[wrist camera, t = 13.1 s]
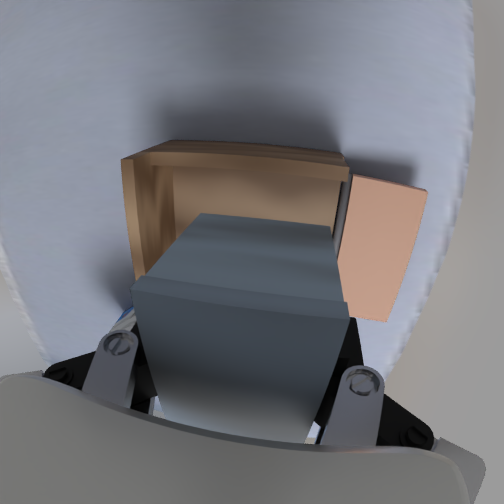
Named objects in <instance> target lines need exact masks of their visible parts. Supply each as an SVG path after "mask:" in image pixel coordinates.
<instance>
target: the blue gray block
mask: <svg viewBox="0 0 504 504" xmlns="http://www.w3.org/2000/svg"><path fill="white" fill-rule="evenodd" d="M130 293H131V298H132V303H133V307H134V311H135V316H136V320H137V324H138V328H139V332H140V336H141V340H142V344H143V348H144V351H145V355H146V359H147V362H148V366H149V369H150V372H151V376H152V379H153V382H154V385H155V389H156V392H157V395H158V398H159V401H160V404H161V407H162V410H163V412H164V415H165V418H166V420H169V421H173V422H177V423H181V424H185V425H189V426H193V427H197V428H202V429H206V430H211V431H216V432H221V433H226V434H232V435H238V436H244V437H250V438H257V439H264V440H272V441H281V442H291V443H303V444H304V442H305V440H306V438H307V435H308V433H309V431H310V429H311V426H312V424H313V422H314V419H315V417H316V414H317V412H318V409H319V407H320V404H321V402H322V399H323V397H324V394H325V392H326V389H327V386H328V384H329V381H330V378H331V375H332V373H333V370H334V367H335V364H336V361H337V359H338V356H339V353H340V350H341V347H342V344H343V341H344V337H345V334H346V331H347V328H348V325H349V321H350V316H349V310H348V304H347V302H344V298H343V291H342V286H341V280H340V274H339V269H338V263H337V258H336V253H335V248H334V243H333V238H332V233H331V228H330V226H324V225H316V224H307V223H298V222H289V221H280V220H271V219H261V218H251V217H240V216H230V215H219V214H207V213H200V214H199V215H198V216H197V217H196V218H195V220H194V221H193V222H192V223H191V224H190V225H189V226H188V227H187V228H186V229H185V230H184V232H183V233H182V234H181V235H180V236H179V237H178V238H177V239H176V240H175V242H174V243H173V244H172V245H171V246H170V247H169V248H168V249H167V251H166V252H165V253H164V254H163V255H162V256H161V257H160V259H159V260H158V261H157V262H156V263H155V264H154V265H153V267H152V268H151V269H150V270H149V271H148V272H147V274H146V275H145V276H144V275H141V276H140V277H139V278H138V280H137V281H136V282H135V283H134V284H133V285H132V287H131V288H130Z"/></svg>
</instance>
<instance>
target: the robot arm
mask: <svg viewBox="0 0 504 504" xmlns="http://www.w3.org/2000/svg"><path fill="white" fill-rule="evenodd" d="M384 388H385V386H384V380H383V378H382V376H381V375H380V374H379V373H378V372H377V371H376V370H374V369H373V368H370V367H368V366H364V363H363V357H362V351H361V344H360V338H359V333H358V327H357V321H356V318H354V317H350V321H349V325H348V328H347V331H346V334H345V337H344V341H343V344H342V347H341V350H340V353H339V356H338V359H337V361H336V364H335V367H334V370H333V373H332V375H331V378H330V381H329V384H328V386H327V389H326V392H325V394H324V397H323V399H322V402H321V404H320V407H319V409H318V412H317V414H316V417H315V419H314V421H315V422H316V423H317V424H318V425H319V426H320V428H319V431H318V434H317V437H316V440H315V442H314V444H303V443H291V442H281V441H272V440H264V439H257V438H250V437H244V436H238V435H232V434H226V433H221V432H216V431H211V430H206V429H202V428H197V427H193V426H189V425H185V424H181V423H177V422H173V421H169V420H166V419H162V418H158V417H155V416H153V409H154V402H155V396H158V395H157V392H156V389H155V385H154V382H153V379H152V376H151V372H150V369H149V366H148V362H147V359H146V355H145V351H144V348H143V344H142V340H141V336H140V332H139V328H138V324H137V322H136V323H135V325H134V326H133V328H132V329H131V330H130V331H128V330H115V331H112V332H110V333H108V334H106V335H105V336H104V337H103V338H102V339H101V341H100V342H99V345H98V347H97V350H96V351H94V352H91V353H88V354H85V355H81V356H78V357H75V358H72V359H68V360H65V361H62V362H58V363H56V364H53V365H52V366H50V367H49V368H48V369H47V370H46V371H45V373H43V371H42V370H40V371H34V372H27V373H20V374H12V375H6V376H2V377H1V378H0V504H474V501H475V499H476V496H477V494H478V492H479V489H480V487H481V484H482V481H483V479H484V476H485V471H486V467H485V463H484V461H483V460H482V459H481V458H480V457H479V456H477V455H475V454H473V453H471V452H469V451H467V450H465V449H463V448H461V447H458V446H457V445H455V444H453V443H451V442H449V441H447V440H445V439H443V438H441V437H440V438H439V439H436V438H434V436H433V432H432V430H431V429H430V427H429V426H428V425H426V424H425V423H424V422H422V421H421V420H420V419H418V418H417V417H416V416H414V415H413V414H411V413H410V412H409V411H407V410H406V409H404V408H403V407H402V406H401V405H399V404H398V403H396V402H395V401H394V400H392V399H391V398H390V397H388V396H387V395H386V394H384Z"/></svg>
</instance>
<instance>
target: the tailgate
mask: <svg viewBox="0 0 504 504" xmlns="http://www.w3.org/2000/svg"><path fill="white" fill-rule="evenodd" d="M351 181H352V183H351ZM350 188H351V189H350ZM349 194H350V195H349ZM427 195H428V192H427V191H426V190H425V189H421V188H417V187H413V186H409V185H404V184H400V183H396V182H391V181H386V180H382V179H377V178H372V177H367V176H362V175H357V174H353V177H352V174H350V173H349V174H348V181H347V182H344V181H343V183H342V190H341V196H340V202H339V208H338V214H337V220H336V225H335V231H334V236H333V243H334V248H335V253H336V258H337V256H338V258H337V263H338V269H339V274H340V280H341V286H342V291H343V298H344V302H347V304H348V310H349V316H353V317H358V318H364V319H370V320H376V321H382V322H387V320H388V317H389V315H390V312H391V310H392V307H393V305H394V302H395V299H396V297H397V294H398V291H399V289H400V286H401V283H402V280H403V277H404V275H405V272H406V269H407V266H408V263H409V260H410V257H411V253H412V250H413V247H414V244H415V240H416V237H417V233H418V230H419V226H420V223H421V219H422V215H423V211H424V207H425V203H426V199H427ZM348 199H349V201H348ZM347 205H348V207H347ZM346 211H347V212H346ZM345 216H346V218H345ZM344 222H345V223H344ZM343 227H344V228H343ZM342 232H343V233H342ZM341 237H342V238H341ZM340 242H341V243H340ZM339 247H340V248H339ZM338 252H339V253H338Z"/></svg>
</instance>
